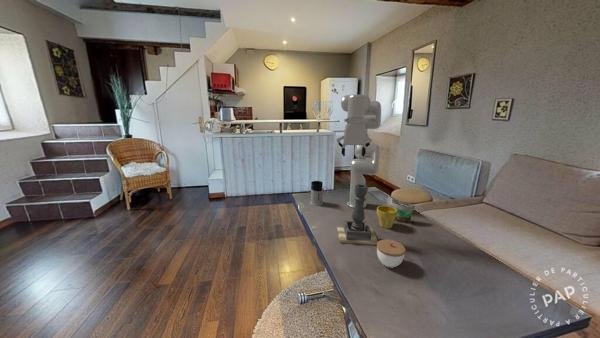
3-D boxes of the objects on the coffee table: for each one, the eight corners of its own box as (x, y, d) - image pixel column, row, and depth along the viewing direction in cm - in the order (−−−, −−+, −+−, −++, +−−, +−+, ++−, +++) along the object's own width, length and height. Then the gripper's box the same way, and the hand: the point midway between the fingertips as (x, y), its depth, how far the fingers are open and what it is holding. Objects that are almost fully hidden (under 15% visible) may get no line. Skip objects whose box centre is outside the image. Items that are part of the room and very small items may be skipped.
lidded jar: (404, 274, 87) (407, 253, 85) (375, 268, 91) (376, 247, 88) (402, 258, 97) (404, 238, 95) (376, 253, 100) (377, 233, 98)
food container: (390, 221, 130) (391, 205, 127) (390, 217, 135) (392, 201, 133) (414, 225, 125) (416, 208, 123) (413, 220, 131) (415, 204, 128)
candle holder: (363, 231, 116) (368, 185, 109) (362, 237, 110) (367, 188, 104) (350, 229, 117) (355, 183, 111) (349, 235, 112) (354, 187, 106)
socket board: (337, 229, 121) (337, 219, 119) (371, 230, 120) (372, 221, 118) (339, 242, 108) (340, 232, 107) (378, 244, 107) (379, 234, 106)
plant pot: (374, 220, 131) (375, 204, 129) (393, 222, 129) (395, 206, 127) (376, 229, 121) (378, 212, 119) (397, 231, 119) (399, 213, 117)
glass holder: (316, 199, 162) (316, 179, 158) (331, 205, 152) (332, 184, 148) (307, 203, 156) (307, 182, 152) (322, 209, 146) (323, 187, 142)
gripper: (338, 121, 107) (336, 157, 111) (375, 121, 106) (372, 157, 111) (336, 120, 114) (335, 154, 119) (371, 120, 113) (368, 154, 118)
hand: (353, 155), depth 115 cm, fingers open, 9 cm apart
